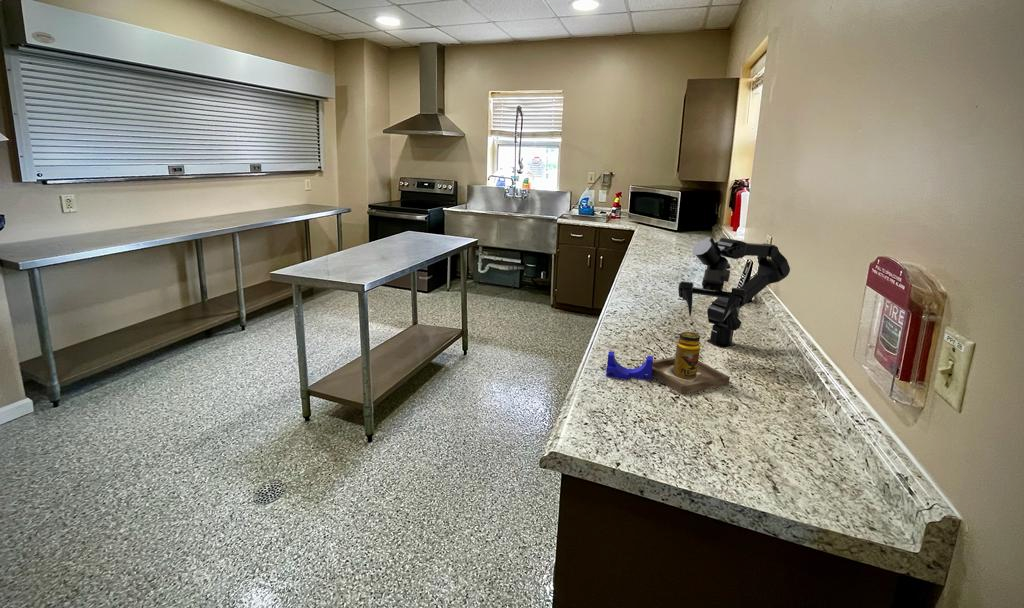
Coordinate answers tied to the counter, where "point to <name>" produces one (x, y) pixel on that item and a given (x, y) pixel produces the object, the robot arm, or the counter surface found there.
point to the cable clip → (623, 373)
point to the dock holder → (702, 382)
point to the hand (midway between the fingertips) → (706, 317)
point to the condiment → (686, 357)
